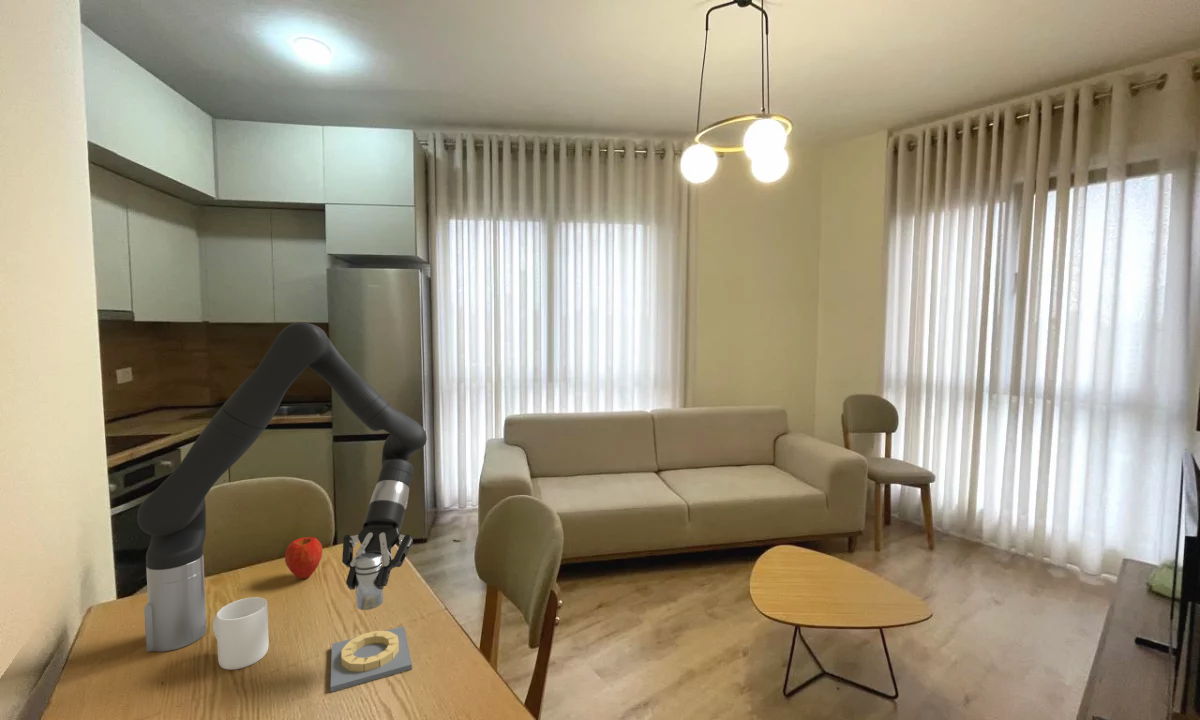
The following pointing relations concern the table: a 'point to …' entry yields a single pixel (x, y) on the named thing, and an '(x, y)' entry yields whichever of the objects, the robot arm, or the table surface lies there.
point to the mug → (241, 632)
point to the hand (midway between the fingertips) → (365, 587)
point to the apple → (303, 556)
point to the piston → (368, 580)
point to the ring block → (369, 658)
